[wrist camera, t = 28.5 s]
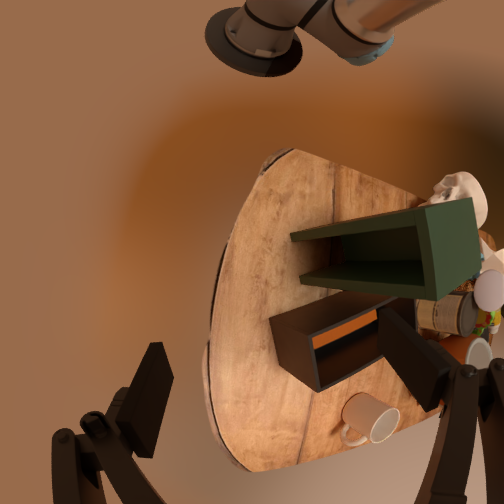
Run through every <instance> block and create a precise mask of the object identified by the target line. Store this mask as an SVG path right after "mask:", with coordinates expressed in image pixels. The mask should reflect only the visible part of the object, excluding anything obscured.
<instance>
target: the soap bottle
mask: <svg viewBox="0 0 504 504" xmlns="http://www.w3.org/2000/svg"><path fill="white" fill-rule="evenodd" d="M474 299H475V302H476V304H477V305H478V307H479V308H481V309H482V310H484V311H488V312H492V311H496V310H498V309H499V308H501V307H502V305H503V304H504V276H503V275H502V274H501V273H500V272H498V271H497V270H493V269H489V270H485V271H484V272H482V273H481V274H480V275H479V277H478V278H477V280H476V283H475V286H474Z"/></svg>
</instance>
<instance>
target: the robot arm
mask: <svg viewBox="0 0 504 504" xmlns="http://www.w3.org/2000/svg"><path fill="white" fill-rule="evenodd" d="M444 1H446V0H246V2H245V4H244V5H243V6H242V7H241V8H240V9H239V10H238V11H236V12H235V13H234V14H233V15H232V16H231V17H230V18H229V19H228V20H227V22H226V25H225V27H224V35H225V38H226V40H227V41H228V43H229V44H230V45H231V46H232V47H233V48H235V49H236V50H237V51H239V52H240V53H242V54H244V55H246V56H249V57H252V58H255V59H260V60H274V59H278V58H280V57H282V56H283V55H285V53H286V52H287V51H288V50H289V48H290V46H291V43H292V38H293V34H294V29H295V27H296V26H298V27H300V28H301V29H303V30H305V31H306V32H307V33H309V34H310V35H312V36H313V37H315V38H316V39H318V40H319V41H320V42H322V43H323V44H325V45H326V46H327V47H329V48H330V49H331V50H332V51H334V52H335V53H336V54H337V55H338V56H339V57H341V58H343V59H345V60H346V61H348V62H349V63H350V64H352V65H356V66H362V65H366V64H368V63H371V62H373V61H374V60H375V59H376V58H377V57H379V56H381V55H383V54H384V53H385V52H386V51H387V50H388V49H389V48H390V46H391V45H392V43H393V41H394V35H393V34H394V31H395V26H396V25H398V24H400V23H402V22H404V21H406V20H408V19H409V18H411V17H413V16H415V15H417V14H419V13H421V12H423V11H425V10H427V9H429V8H431V7H433V6H435V5H437V4H439V3H441V2H444ZM377 348H378V349H379V350H380V352H381V353H382V354H383V356H384V357H385V358H386V360H387V361H388V362H389V364H390V365H391V366H392V368H393V369H394V370H395V372H396V373H397V374H398V376H399V377H400V378H401V380H402V381H403V382H404V384H405V385H406V386H407V388H408V389H409V390H410V392H411V393H412V394H413V396H414V397H415V399H416V400H417V401H418V403H419V404H420V405H421V407H422V408H423V410H424V411H425V412H429V411H431V410H433V409H435V408H437V407H438V405H439V402H440V400H442V401H443V402H444V406H443V408H442V411H441V413H440V416H439V418H441V419H440V423H439V427H438V432H437V436H436V440H435V443H434V447H433V451H432V455H431V457H430V461H429V464H428V467H427V470H426V473H425V476H424V479H423V482H422V485H421V487H420V490H419V493H418V495H417V498H416V500H415V503H414V504H466V502H467V496H465V495H464V492H465V488H466V484H467V479H468V475H469V470H470V465H471V460H472V454H473V448H474V440H475V433H476V424H477V417H478V422H479V427H480V433H481V439H482V446H483V454H484V463H485V473H486V491H487V504H504V359H502V358H495V359H492V360H491V361H490V364H489V366H488V368H483V369H477V368H476V367H475V366H473V365H470V364H463V365H462V364H461V363H460V362H459V361H458V360H456V359H455V358H454V357H453V356H452V355H451V354H450V353H449V352H448V351H447V350H446V349H445V348H443V346H442V345H441V344H439V343H438V342H436V341H434V340H432V339H429V340H425V339H424V338H423V337H422V336H421V335H420V334H418V333H417V332H416V331H415V330H414V329H413V328H412V327H411V326H410V325H409V324H408V323H407V322H406V321H405V320H404V319H402V318H401V317H400V316H399V315H398V314H397V313H396V312H395V311H394V310H393V309H392V308H390V307H389V308H385V309H381V310H380V311H379V326H378V338H377ZM173 379H174V376H173V373H172V370H171V367H170V364H169V362H168V359H167V355H166V352H165V349H164V346H163V343H162V342H153V343H150V345H149V347H148V349H147V351H146V353H145V355H144V357H143V359H142V361H141V363H140V365H139V368H138V370H137V372H136V374H135V376H134V378H133V380H132V383H131V385H130V387H122V388H121V389H120V390H119V391H117V392H116V394H115V396H114V398H113V401H112V402H111V404H110V406H109V408H108V410H107V412H106V414H105V415H104V414H103V413H101V412H99V411H92V412H88V413H87V414H85V415H84V416H83V417H82V418H81V420H80V426H81V428H82V429H83V431H84V432H85V434H79V435H75V434H74V432H73V431H72V430H71V429H68V428H62V429H60V430H58V431H56V432H55V433H54V435H53V437H52V489H53V502H54V504H107V503H106V499H105V495H104V490H103V486H102V481H101V475H100V471H103V470H104V471H105V473H106V475H107V477H108V479H109V481H110V482H111V484H112V486H113V488H114V489H115V491H116V493H117V494H118V496H119V498H120V499H121V501H122V503H123V504H166V503H165V502H164V500H163V499H162V498H161V496H160V495H159V494H158V493H157V491H156V490H155V489H154V488H153V486H152V485H151V484H150V482H149V481H148V480H147V478H146V477H145V475H144V474H143V473H142V471H141V470H140V468H139V467H138V465H137V464H136V462H135V461H134V459H133V458H132V454H133V451H134V452H135V454H136V455H137V456H138V457H140V458H153V454H154V450H155V446H156V442H157V438H158V435H159V431H160V427H161V423H162V419H163V416H164V412H165V408H166V404H167V401H168V397H169V394H170V390H171V386H172V383H173Z"/></svg>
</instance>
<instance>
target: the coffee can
mask: <svg viewBox="0 0 504 504" xmlns="http://www.w3.org/2000/svg"><path fill="white" fill-rule="evenodd" d="M416 305H417V319H418V327H419V328H421V329H428V330H433V331H438V332H443V333H448V334H454V335H459V336H462V337H468V336H469V335H470V334H471V333H472V331H473V330H474V328H475V325H476V322H477V318H478V311H479V307H478V305H477V304H476V302H475V299H474V292H473V291H470V292H465V291H452V292H450V293H449V294H448V295H446V296H445V297H443V298H442V299H440V300H439V301H438V302H436V301H427V300H420V299H417V301H416Z"/></svg>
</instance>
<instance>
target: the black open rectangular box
mask: <svg viewBox="0 0 504 504" xmlns="http://www.w3.org/2000/svg"><path fill="white" fill-rule="evenodd" d="M389 307H390V308H392V309H393V310H394V311H395V312H396V313H397V314H398V315H399V316H400V317H401V318H402V319H404V320H405V321H406V322H407V323H408V324H409V325H410V326H411V327H412V328H413V329H414V330H415V331H416V332H417V333H418V319H417V305H416V299H411V298H403V297H395V296H386V295H378V294H370V293H363V292H355V291H347V290H345V291H342V292H340V293H337V294H334V295H332V296H329V297H327V298H324V299H321V300H319V301H316V302H313V303H310V304H308V305H305V306H302V307H299V308H296V309H294V310H291V311H288V312H285V313H282V314H279V315H276V316H273V317H270V318H269V321H270V325H271V330H272V334H273V339H274V343H275V347H276V352H277V356H278V361H279V365H280V366H281V367H282V368H284V369H285V370H286V371H288V372H289V373H290V374H292V375H293V376H294V377H296V378H297V379H298V380H300V381H301V382H303V383H304V384H305V385H307V386H308V387H310V388H311V389H312V390H314V391H315V392H317V393H319V392H321V391H323V390H325V389H327V388H329V387H331V386H333V385H335V384H337V383H339V382H341V381H343V380H345V379H346V378H348V377H350V376H352V375H354V374H356V373H357V372H359V371H361V370H363V369H364V368H366V367H368V366H370V365H371V364H373V363H375V362H376V361H378V360H380V359H381V358H383V357H384V356H383V354H382V353H381V352H380V350H379V349H378V348H377V338H378V326H379V311H380V310H381V309H385V308H389ZM375 309H376V314H377V319H376V320H374V321H372V322H370V323H368V324H366V325H364V326H363V327H361V328H359V329H357V330H355V331H353V332H351V333H348V334H346V335H344V336H342V337H340V338H338V339H336V340H334V341H332V342H330V343H327V344H325V345H323V346H321V347H319V348H316V349H314V347H313V341H312V338H313V337H316V336H318V335H320V334H323V333H325V332H327V331H330V330H332V329H334V328H336V327H339V326H341V325H343V324H345V323H347V322H350V321H352V320H354V319H356V318H358V317H360V316H362V315H364V314H367V313H369V312H371V311H373V310H375Z"/></svg>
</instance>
